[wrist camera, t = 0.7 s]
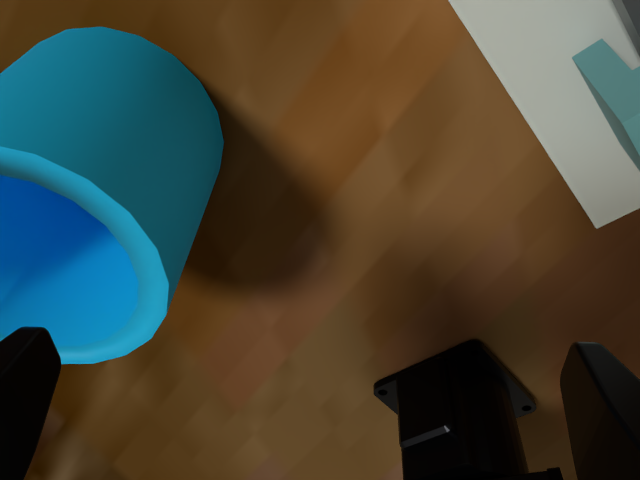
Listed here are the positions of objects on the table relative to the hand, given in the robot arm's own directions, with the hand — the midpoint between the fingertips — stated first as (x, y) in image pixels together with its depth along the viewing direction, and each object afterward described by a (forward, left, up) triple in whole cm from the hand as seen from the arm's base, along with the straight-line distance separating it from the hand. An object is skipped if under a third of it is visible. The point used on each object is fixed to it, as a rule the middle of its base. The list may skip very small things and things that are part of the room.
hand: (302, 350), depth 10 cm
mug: (+5, +9, -13) cm, 17 cm away
